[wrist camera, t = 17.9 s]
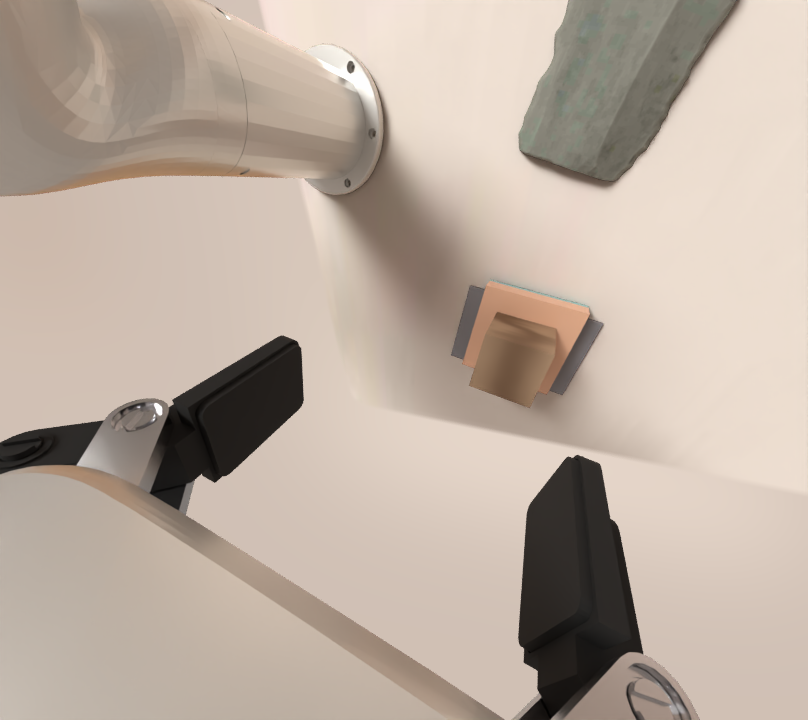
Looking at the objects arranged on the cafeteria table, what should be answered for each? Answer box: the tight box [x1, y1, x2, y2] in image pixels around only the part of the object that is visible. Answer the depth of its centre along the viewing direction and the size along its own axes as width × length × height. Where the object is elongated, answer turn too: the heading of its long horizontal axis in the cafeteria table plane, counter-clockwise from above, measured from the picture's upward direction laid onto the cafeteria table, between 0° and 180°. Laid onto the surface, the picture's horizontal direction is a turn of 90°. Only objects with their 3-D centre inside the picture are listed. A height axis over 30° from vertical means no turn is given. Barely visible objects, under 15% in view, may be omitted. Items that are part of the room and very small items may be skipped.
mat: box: [451, 286, 603, 395], centre depth 35 cm, size 14×10×1 cm
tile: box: [462, 280, 590, 395], centre depth 33 cm, size 10×2×10 cm
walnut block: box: [469, 312, 556, 408], centre depth 30 cm, size 6×6×6 cm
